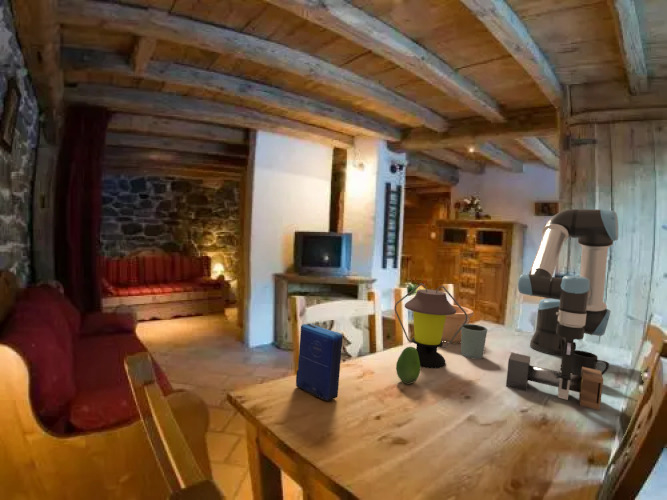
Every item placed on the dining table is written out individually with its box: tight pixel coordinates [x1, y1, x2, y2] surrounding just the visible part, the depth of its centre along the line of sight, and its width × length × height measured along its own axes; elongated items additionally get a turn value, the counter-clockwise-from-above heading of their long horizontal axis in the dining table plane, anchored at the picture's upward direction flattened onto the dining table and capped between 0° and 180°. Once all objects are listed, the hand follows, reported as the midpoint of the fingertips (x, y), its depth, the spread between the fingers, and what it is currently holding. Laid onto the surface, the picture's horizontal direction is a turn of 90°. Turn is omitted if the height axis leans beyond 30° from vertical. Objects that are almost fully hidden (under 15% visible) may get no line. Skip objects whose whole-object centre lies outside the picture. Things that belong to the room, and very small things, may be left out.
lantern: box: [393, 282, 467, 369], centre depth 147 cm, size 25×19×30 cm
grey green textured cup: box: [460, 323, 488, 360], centre depth 158 cm, size 10×10×12 cm
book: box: [295, 323, 343, 402], centre depth 113 cm, size 14×5×20 cm, turn 49°
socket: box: [578, 367, 604, 411], centre depth 120 cm, size 9×5×10 cm, turn 149°
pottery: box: [441, 304, 474, 344], centre depth 181 cm, size 22×22×14 cm
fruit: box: [395, 346, 421, 384], centre depth 126 cm, size 8×8×12 cm
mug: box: [571, 349, 610, 376], centre depth 137 cm, size 8×12×10 cm
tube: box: [527, 365, 583, 394], centre depth 125 cm, size 20×5×5 cm, turn 59°
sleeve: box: [505, 352, 531, 392], centre depth 130 cm, size 8×6×9 cm
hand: (562, 394), depth 124 cm, fingers closed on tube, 5 cm apart
